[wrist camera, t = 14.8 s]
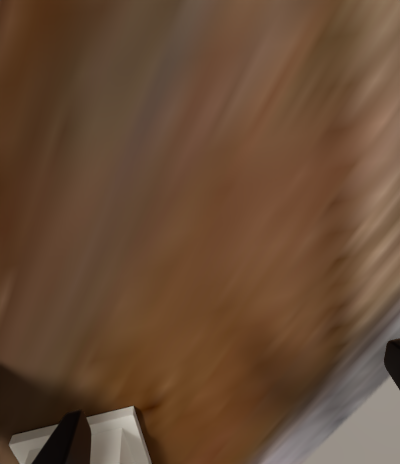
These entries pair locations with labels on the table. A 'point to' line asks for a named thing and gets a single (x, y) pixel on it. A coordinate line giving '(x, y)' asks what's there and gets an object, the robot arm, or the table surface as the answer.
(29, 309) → the table surface
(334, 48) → the table surface
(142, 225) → the table surface
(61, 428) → the robot arm
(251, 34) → the table surface
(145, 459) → the socket
